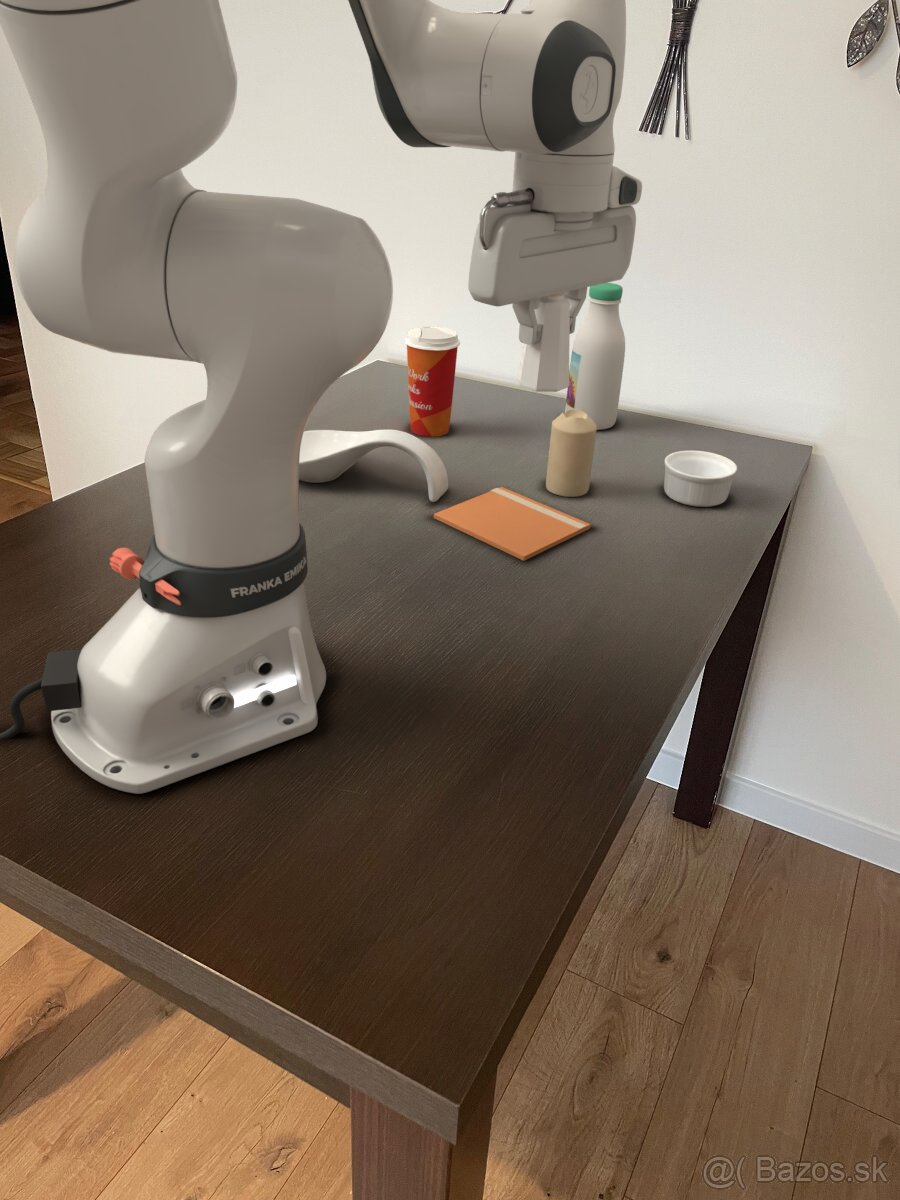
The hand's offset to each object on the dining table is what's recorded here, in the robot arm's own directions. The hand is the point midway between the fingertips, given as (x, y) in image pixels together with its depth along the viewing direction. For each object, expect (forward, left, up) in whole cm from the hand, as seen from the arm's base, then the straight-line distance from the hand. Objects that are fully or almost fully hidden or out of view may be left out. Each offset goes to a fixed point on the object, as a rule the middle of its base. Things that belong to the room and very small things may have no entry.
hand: (546, 338), depth 91 cm
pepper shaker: (0, 0, -5) cm, 5 cm away
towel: (+3, +5, -23) cm, 24 cm away
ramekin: (+27, -5, -24) cm, 36 cm away
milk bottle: (+38, +20, -24) cm, 49 cm away
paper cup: (+17, +33, -24) cm, 44 cm away
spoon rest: (-3, +26, -24) cm, 35 cm away
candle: (+16, +7, -24) cm, 30 cm away
